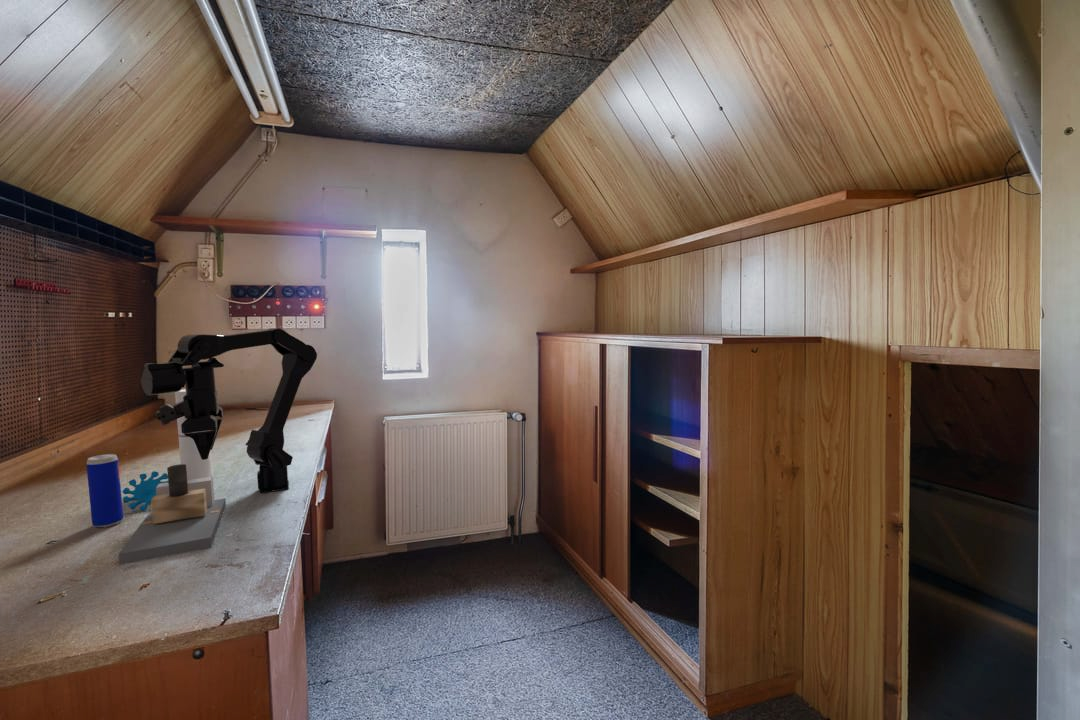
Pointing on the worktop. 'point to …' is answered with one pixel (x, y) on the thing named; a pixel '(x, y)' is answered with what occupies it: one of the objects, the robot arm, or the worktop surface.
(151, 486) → the blue virus model
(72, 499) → the worktop surface
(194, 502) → the lever handle
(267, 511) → the worktop surface
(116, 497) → the beverage can
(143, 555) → the cracker base
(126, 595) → the worktop surface
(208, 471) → the tall white block
